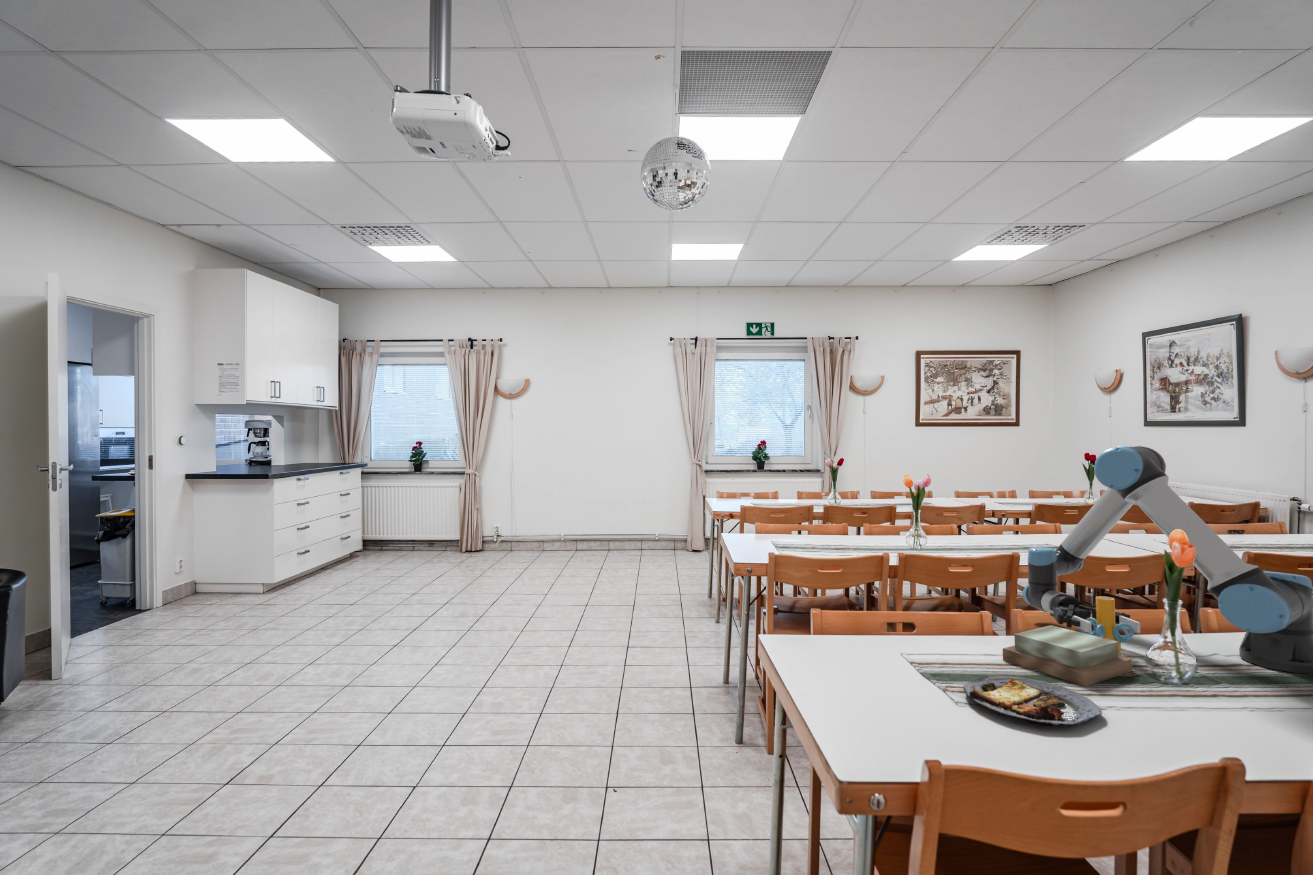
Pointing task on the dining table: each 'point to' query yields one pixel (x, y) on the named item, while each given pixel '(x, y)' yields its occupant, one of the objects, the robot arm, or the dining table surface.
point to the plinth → (1070, 670)
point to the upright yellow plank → (1108, 622)
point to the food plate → (1030, 699)
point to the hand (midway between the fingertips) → (1114, 627)
